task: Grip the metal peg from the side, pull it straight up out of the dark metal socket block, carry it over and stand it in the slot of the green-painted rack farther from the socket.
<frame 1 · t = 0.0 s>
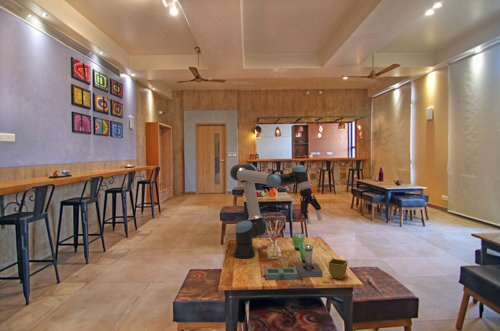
hand: (314, 222, 186), 28 cm above the table, tool tilted 20°, fingers open, 13 cm apart
rack: (280, 276, 173), on the table
flower pot: (338, 277, 170), on the table
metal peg: (308, 259, 177), in the socket block
socket block: (308, 272, 177), on the table
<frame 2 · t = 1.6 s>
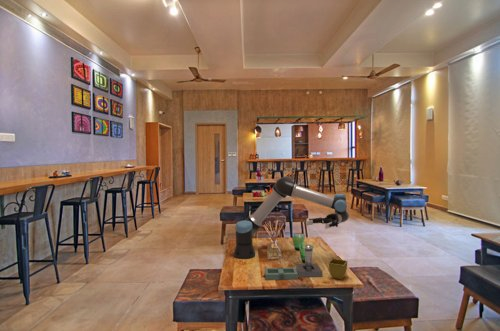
hand: (315, 225, 183), 27 cm above the table, tool horizontal, fingers open, 13 cm apart
nothing on the table moved.
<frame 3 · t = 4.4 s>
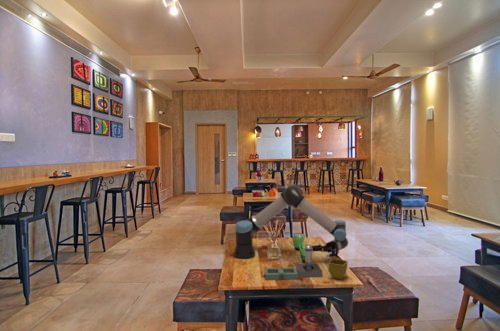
hand: (316, 254, 182), 9 cm above the table, tool horizontal, fingers open, 13 cm apart
nothing on the table moved.
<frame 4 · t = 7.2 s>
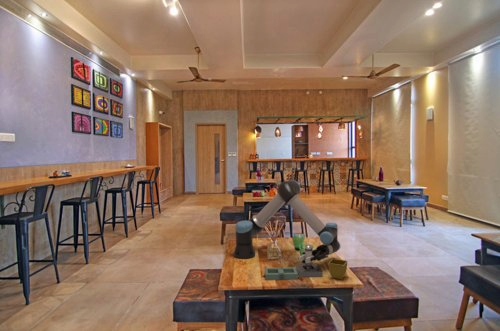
hand: (303, 259, 173), 9 cm above the table, tool horizontal, fingers closed on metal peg, 4 cm apart
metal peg: (308, 259, 177), in the socket block, touching gripper
everything else where it was.
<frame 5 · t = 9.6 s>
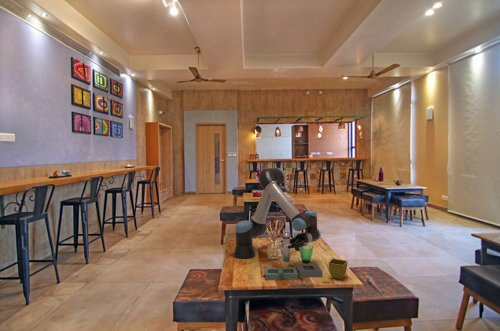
hand: (280, 247, 168), 18 cm above the table, tool horizontal, fingers closed on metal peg, 4 cm apart
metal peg: (286, 247, 172), point 17 cm above the table, touching gripper
everything else where it was.
when the fingers open (10 cm above the table, at t = 12.4 s): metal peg drops 1 cm, resting in rack.
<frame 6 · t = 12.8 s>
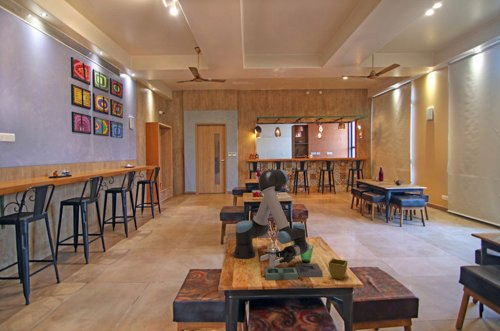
hand: (267, 261, 170), 10 cm above the table, tool horizontal, fingers open, 10 cm apart
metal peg: (272, 262, 173), in the rack
everything else where it was.
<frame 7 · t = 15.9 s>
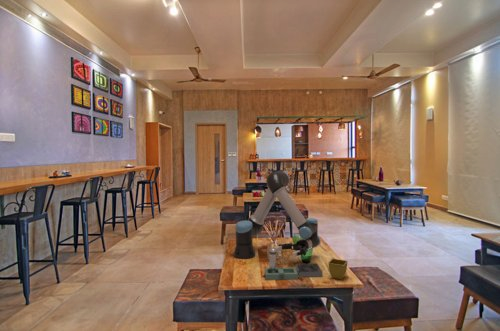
hand: (283, 252, 180), 11 cm above the table, tool horizontal, fingers open, 13 cm apart
nothing on the table moved.
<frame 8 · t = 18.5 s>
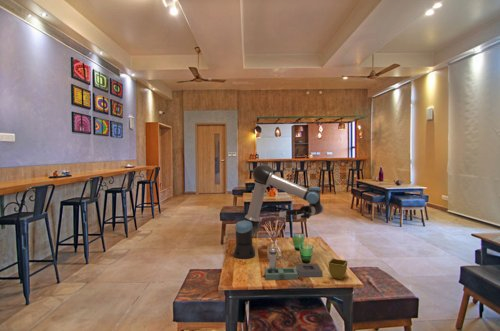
hand: (288, 216, 186), 32 cm above the table, tool horizontal, fingers open, 13 cm apart
nothing on the table moved.
at the end: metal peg 0.0 cm from the target spot on the rack, point 8.0 cm above the rack's base; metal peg tilted 0°; the gripper is holding nothing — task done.
